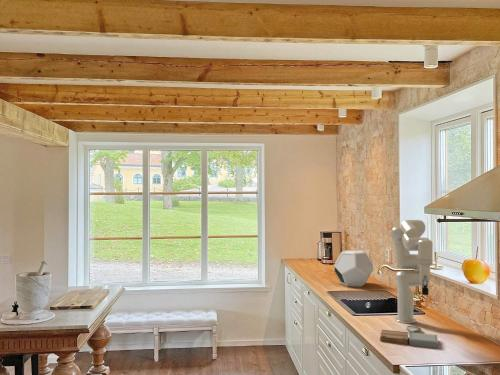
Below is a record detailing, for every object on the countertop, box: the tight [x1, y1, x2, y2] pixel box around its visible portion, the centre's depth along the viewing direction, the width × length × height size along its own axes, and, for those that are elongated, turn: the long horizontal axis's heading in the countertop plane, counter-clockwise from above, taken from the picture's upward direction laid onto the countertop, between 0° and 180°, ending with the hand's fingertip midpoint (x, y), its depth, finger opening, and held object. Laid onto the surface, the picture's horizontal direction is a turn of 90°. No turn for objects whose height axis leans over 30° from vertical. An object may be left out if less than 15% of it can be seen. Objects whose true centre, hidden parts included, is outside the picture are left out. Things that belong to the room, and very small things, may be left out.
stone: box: [405, 325, 426, 334], centre depth 261 cm, size 12×9×3 cm
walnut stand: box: [379, 329, 409, 346], centre depth 249 cm, size 14×14×3 cm
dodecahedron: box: [333, 249, 374, 288], centre depth 403 cm, size 34×36×30 cm
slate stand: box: [408, 331, 439, 349], centre depth 244 cm, size 14×14×3 cm
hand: (425, 292), depth 251 cm, fingers open, 9 cm apart
